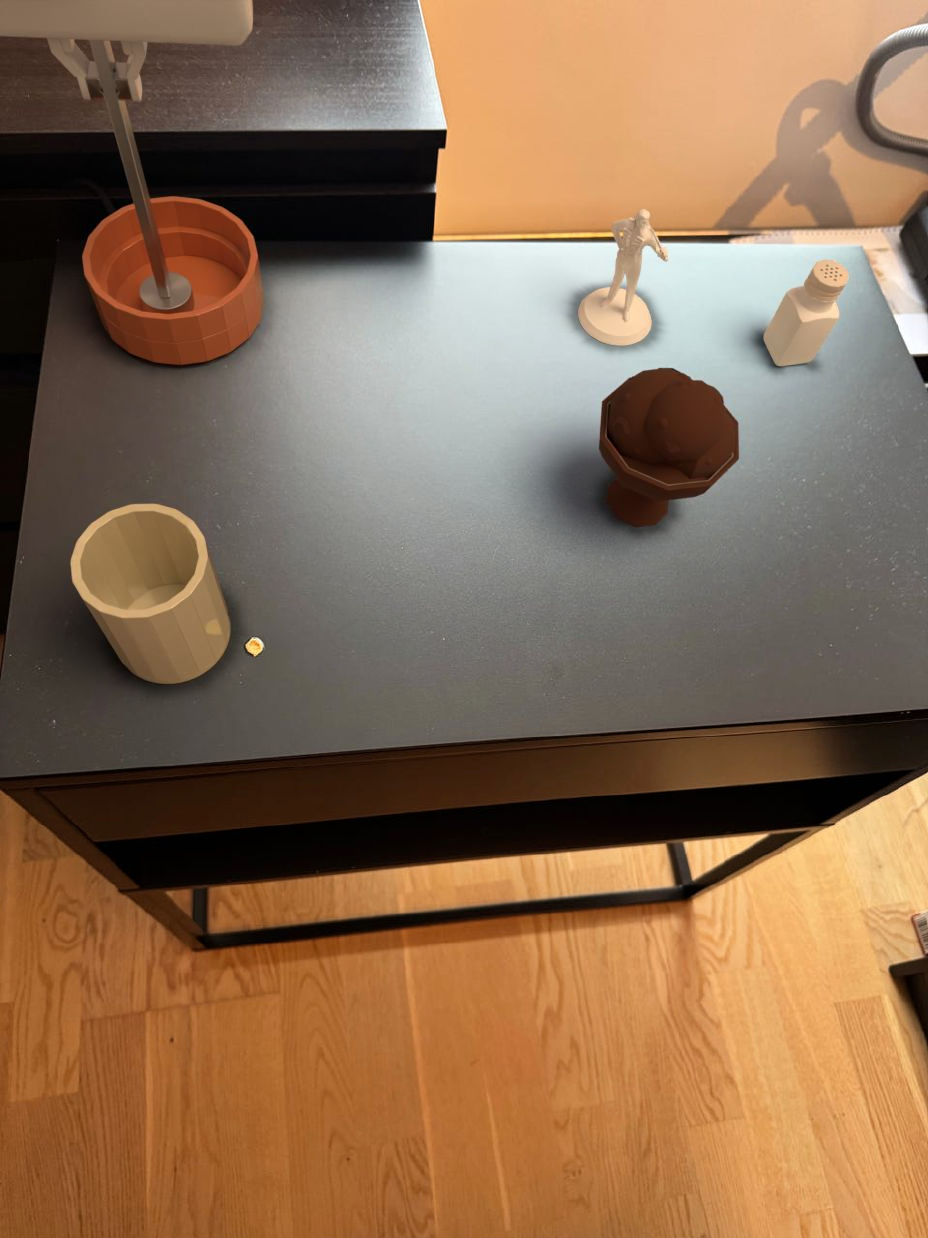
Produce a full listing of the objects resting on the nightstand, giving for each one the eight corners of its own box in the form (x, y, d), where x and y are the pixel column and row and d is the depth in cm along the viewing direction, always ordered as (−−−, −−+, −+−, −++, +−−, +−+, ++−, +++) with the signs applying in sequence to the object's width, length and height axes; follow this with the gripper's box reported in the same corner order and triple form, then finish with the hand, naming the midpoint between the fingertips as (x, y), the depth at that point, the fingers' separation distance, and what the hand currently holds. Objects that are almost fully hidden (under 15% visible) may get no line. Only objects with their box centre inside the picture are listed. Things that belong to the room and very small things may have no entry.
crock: (121, 695, 65) (76, 630, 55) (109, 593, 69) (65, 514, 59) (239, 671, 67) (216, 603, 57) (221, 573, 70) (197, 492, 60)
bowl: (110, 380, 77) (91, 329, 72) (94, 261, 83) (75, 205, 78) (276, 356, 80) (269, 306, 75) (250, 243, 86) (242, 188, 81)
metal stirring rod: (141, 322, 78) (57, 48, 57) (144, 285, 80) (64, 6, 59) (193, 322, 79) (129, 51, 58) (196, 285, 81) (134, 9, 60)
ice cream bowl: (724, 499, 78) (797, 381, 64) (646, 579, 73) (707, 470, 60) (629, 426, 80) (680, 298, 67) (548, 499, 76) (585, 378, 63)
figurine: (562, 315, 85) (589, 207, 75) (608, 278, 88) (641, 168, 77) (621, 358, 84) (658, 254, 73) (666, 318, 86) (708, 212, 76)
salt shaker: (759, 337, 86) (801, 258, 78) (796, 332, 87) (842, 253, 79) (774, 369, 85) (819, 292, 76) (813, 364, 86) (861, 287, 77)
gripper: (243, -162, 53) (267, 71, 65) (-133, -187, 50) (-34, 60, 63) (240, -102, 50) (266, 129, 62) (-158, -126, 48) (-49, 120, 60)
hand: (113, 95), depth 62 cm, fingers closed on metal stirring rod
